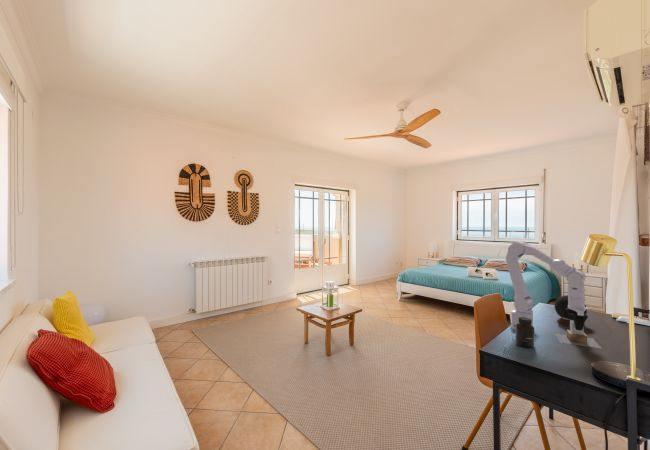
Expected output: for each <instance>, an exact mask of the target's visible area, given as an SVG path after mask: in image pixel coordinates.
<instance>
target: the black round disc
mask: <svg viewBox="0 0 650 450" xmlns="http://www.w3.org/2000/svg"><path fill="white" fill-rule="evenodd" d="M585 307H587V304H585ZM566 308H568V294H567V295H562V296H559V298H557V299H556V300H555V301H554V310H555V312H556V313H557V315H558V317H559V318H558V319H557V320H556V323H557V324H559V325H561V326H564V327H568V326H569V327H568V328H570V317H569V314H568V311H567V310H566ZM587 314H588V310H585V311H584V315H587ZM585 326H586V324H585V323H584V328H585Z"/></svg>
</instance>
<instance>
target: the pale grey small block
mask: <svg viewBox="0 0 650 450" xmlns="http://www.w3.org/2000/svg"><path fill="white" fill-rule="evenodd" d="M569 330H570V331H571V333H572V334H580V335H584V333H585V331H584V330H585V327H584V326H583V330H576V328H575V324H574V320H570V327H569Z"/></svg>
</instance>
